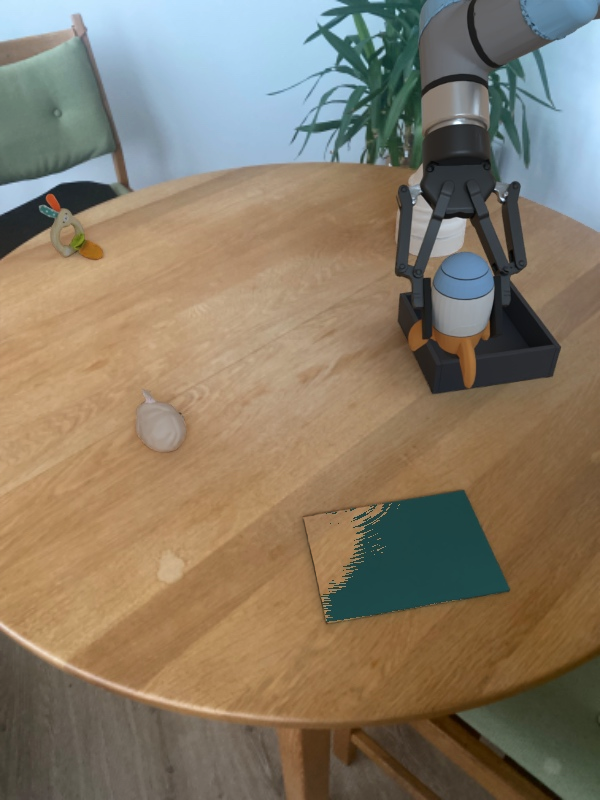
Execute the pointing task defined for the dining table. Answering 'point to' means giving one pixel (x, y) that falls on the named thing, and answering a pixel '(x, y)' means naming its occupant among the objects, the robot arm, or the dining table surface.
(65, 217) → the rattle
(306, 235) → the dining table surface
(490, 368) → the tub
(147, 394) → the garlic bulb
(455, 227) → the honey pot
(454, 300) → the toy rocket
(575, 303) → the dining table surface
